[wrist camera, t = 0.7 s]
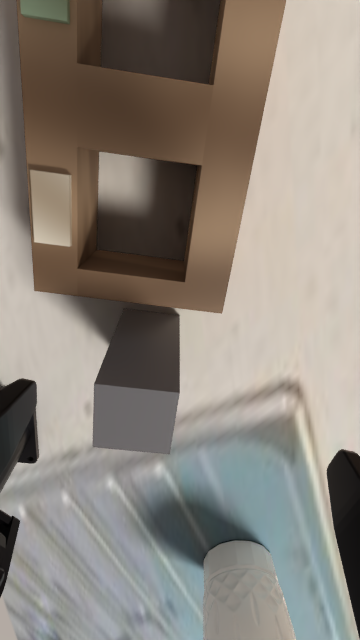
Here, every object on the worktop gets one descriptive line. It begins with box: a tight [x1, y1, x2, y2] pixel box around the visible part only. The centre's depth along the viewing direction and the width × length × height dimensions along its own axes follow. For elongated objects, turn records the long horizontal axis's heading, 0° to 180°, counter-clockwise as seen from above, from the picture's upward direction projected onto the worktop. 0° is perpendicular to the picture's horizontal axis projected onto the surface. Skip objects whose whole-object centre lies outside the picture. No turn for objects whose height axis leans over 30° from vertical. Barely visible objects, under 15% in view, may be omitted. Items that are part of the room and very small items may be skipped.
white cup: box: [203, 540, 296, 640], centre depth 28 cm, size 8×8×10 cm
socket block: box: [17, 0, 286, 313], centre depth 15 cm, size 16×9×4 cm, turn 172°
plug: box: [93, 309, 180, 454], centre depth 18 cm, size 4×4×8 cm
